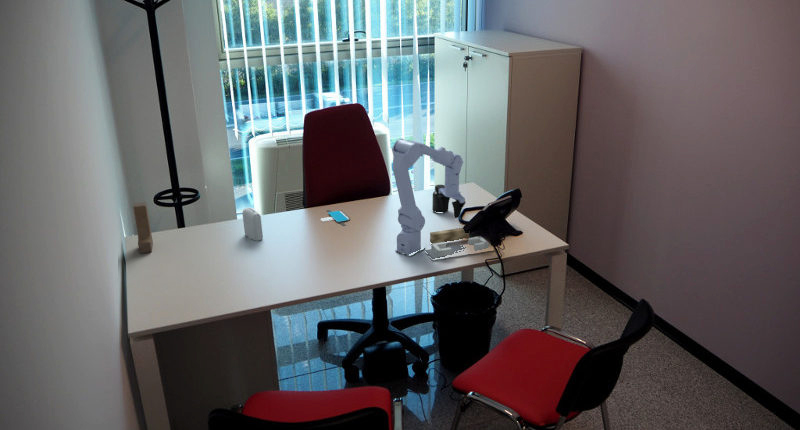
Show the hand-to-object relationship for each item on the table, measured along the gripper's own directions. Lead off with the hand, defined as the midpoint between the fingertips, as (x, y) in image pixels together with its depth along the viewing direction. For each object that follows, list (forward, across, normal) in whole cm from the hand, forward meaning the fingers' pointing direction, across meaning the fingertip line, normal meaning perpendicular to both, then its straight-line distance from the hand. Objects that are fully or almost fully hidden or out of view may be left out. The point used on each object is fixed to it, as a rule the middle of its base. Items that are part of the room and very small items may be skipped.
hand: (451, 214), depth 260 cm
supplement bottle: (+9, +24, -13) cm, 28 cm away
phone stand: (+10, +44, +30) cm, 54 cm away
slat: (+9, -5, +4) cm, 12 cm away
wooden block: (+10, +59, +107) cm, 122 cm away
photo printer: (+10, +45, +67) cm, 82 cm away
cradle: (+9, -15, +7) cm, 19 cm away
